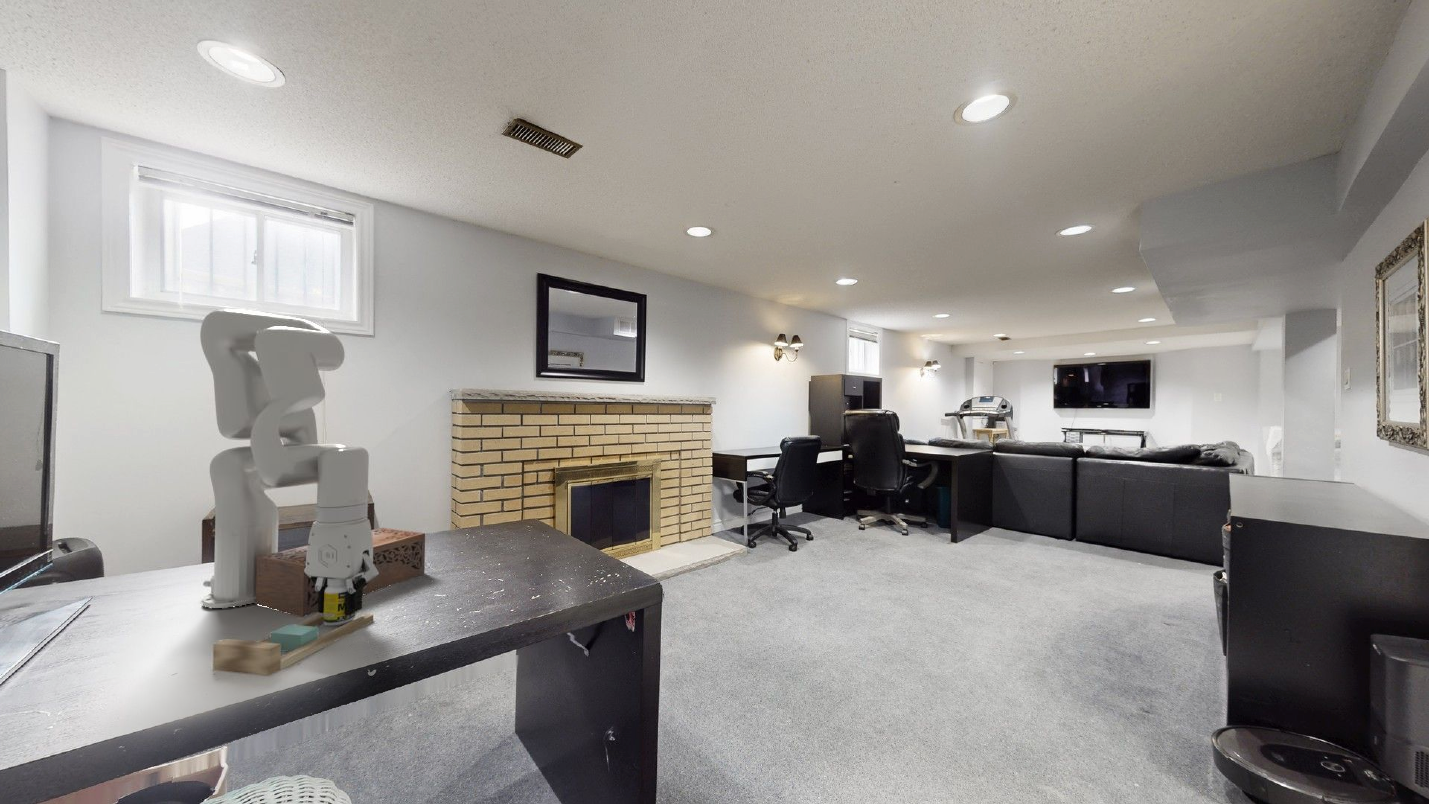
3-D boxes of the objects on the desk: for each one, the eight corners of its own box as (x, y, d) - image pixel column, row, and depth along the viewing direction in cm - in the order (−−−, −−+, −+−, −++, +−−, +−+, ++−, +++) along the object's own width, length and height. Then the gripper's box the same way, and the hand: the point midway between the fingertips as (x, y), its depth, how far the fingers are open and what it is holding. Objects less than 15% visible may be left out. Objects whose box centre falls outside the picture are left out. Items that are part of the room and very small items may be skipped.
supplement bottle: (337, 627, 86) (338, 581, 86) (316, 624, 87) (317, 578, 87) (362, 616, 91) (363, 572, 91) (341, 613, 92) (342, 570, 92)
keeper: (270, 649, 80) (270, 632, 80) (288, 640, 83) (288, 624, 83) (300, 652, 79) (301, 635, 79) (318, 643, 82) (318, 627, 82)
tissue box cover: (382, 567, 121) (383, 527, 121) (424, 574, 116) (425, 533, 116) (255, 606, 97) (257, 557, 97) (302, 618, 92) (303, 566, 92)
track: (212, 669, 73) (213, 643, 73) (326, 617, 92) (327, 596, 92) (269, 675, 72) (270, 649, 72) (373, 621, 90) (373, 599, 90)
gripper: (282, 515, 87) (279, 616, 87) (366, 520, 85) (363, 623, 84) (321, 507, 94) (319, 600, 94) (399, 511, 92) (397, 606, 92)
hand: (340, 610), depth 89 cm, fingers closed on supplement bottle, 4 cm apart
